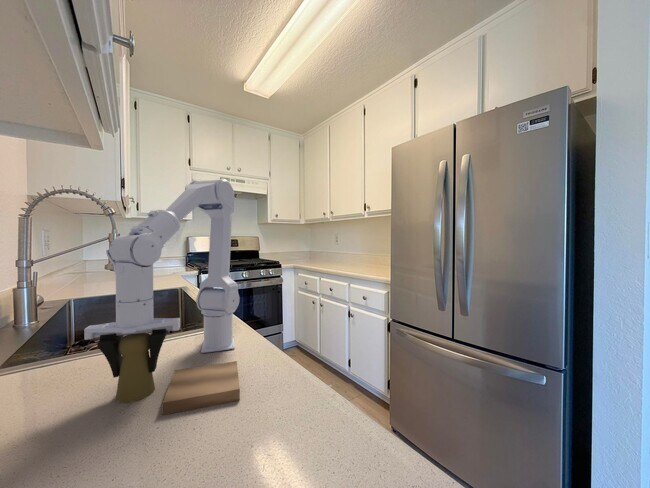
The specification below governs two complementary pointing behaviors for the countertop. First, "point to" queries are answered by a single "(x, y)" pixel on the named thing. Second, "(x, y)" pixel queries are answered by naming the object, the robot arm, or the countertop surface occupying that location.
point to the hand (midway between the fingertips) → (135, 372)
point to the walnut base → (202, 387)
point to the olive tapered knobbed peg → (134, 369)
